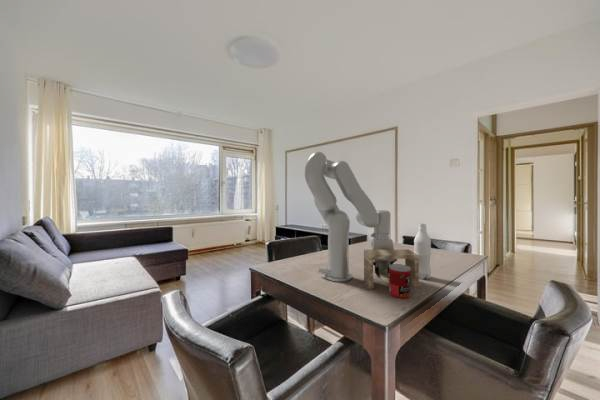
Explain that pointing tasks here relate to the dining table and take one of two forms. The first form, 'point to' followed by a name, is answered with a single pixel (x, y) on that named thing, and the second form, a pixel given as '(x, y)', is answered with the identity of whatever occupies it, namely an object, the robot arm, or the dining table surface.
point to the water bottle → (423, 251)
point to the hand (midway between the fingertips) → (382, 274)
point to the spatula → (383, 271)
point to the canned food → (400, 281)
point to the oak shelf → (408, 255)
